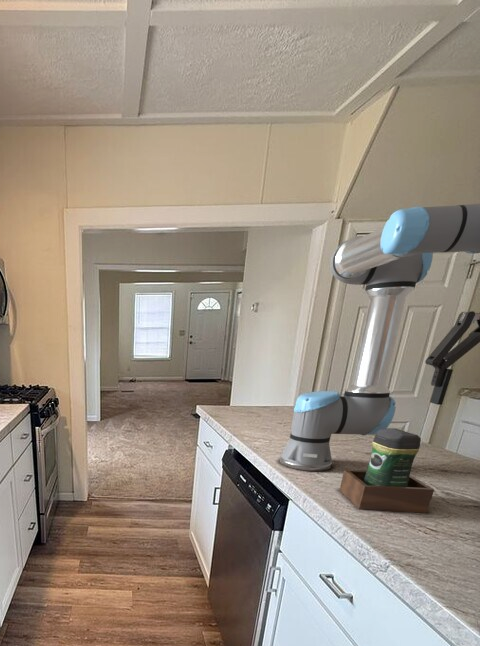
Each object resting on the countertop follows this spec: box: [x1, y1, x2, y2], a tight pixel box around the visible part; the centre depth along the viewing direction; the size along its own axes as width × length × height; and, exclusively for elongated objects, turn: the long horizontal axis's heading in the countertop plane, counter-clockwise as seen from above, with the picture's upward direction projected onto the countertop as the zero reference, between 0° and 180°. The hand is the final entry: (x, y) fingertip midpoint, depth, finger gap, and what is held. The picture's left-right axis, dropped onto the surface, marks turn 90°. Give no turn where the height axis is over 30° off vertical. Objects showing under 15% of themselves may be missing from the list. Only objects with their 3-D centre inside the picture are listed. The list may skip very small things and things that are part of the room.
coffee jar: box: [363, 427, 422, 487], centre depth 100 cm, size 10×8×19 cm
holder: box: [339, 469, 435, 514], centre depth 103 cm, size 13×15×6 cm
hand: (475, 404), depth 77 cm, fingers open, 13 cm apart
